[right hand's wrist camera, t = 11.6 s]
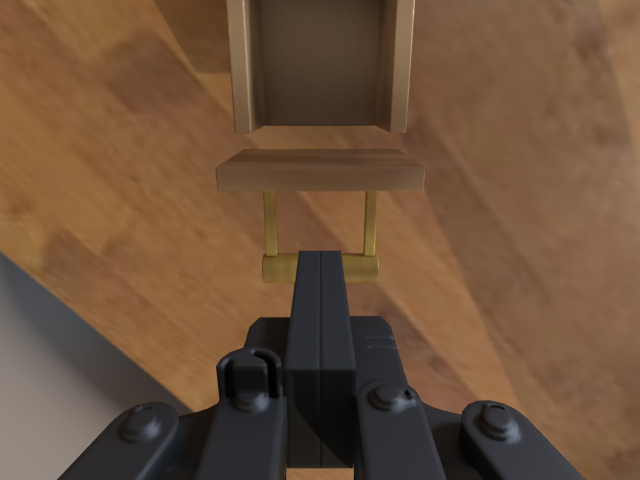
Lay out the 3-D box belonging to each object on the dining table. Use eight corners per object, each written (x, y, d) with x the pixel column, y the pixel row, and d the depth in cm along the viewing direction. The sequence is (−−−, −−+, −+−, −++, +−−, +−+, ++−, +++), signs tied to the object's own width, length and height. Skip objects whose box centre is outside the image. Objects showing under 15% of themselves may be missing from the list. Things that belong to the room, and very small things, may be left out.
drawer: (391, 248, 29) (414, 296, 22) (249, 249, 29) (226, 296, 22) (421, -237, 21) (474, -412, 13) (218, -236, 21) (165, -411, 14)
